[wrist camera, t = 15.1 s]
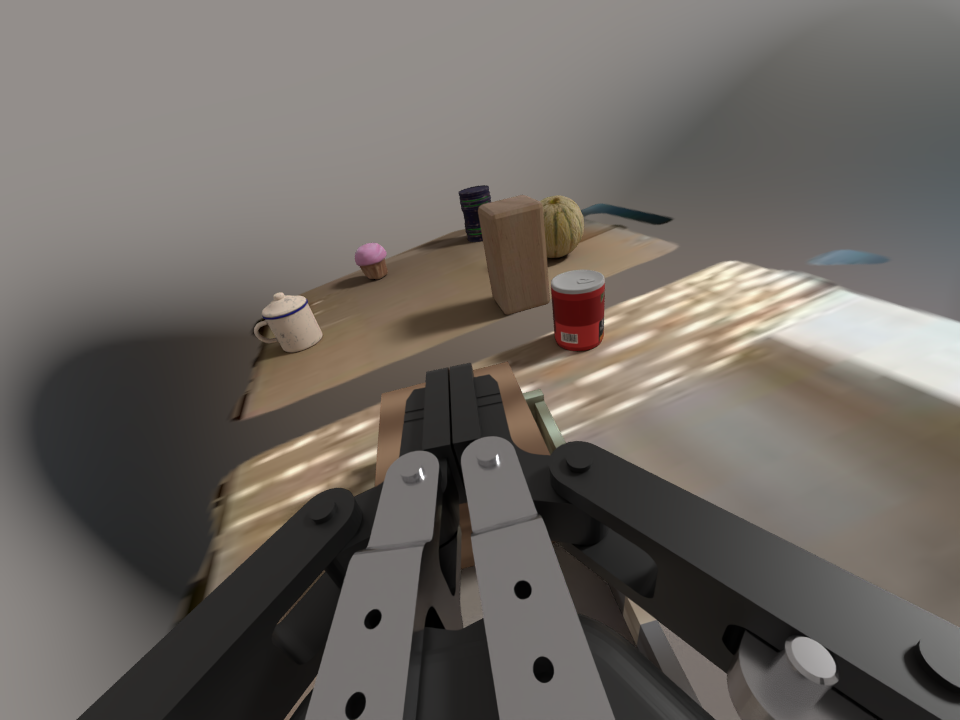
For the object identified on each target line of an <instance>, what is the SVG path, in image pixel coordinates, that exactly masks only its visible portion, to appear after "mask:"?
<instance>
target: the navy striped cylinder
mask: <svg viewBox="0 0 960 720" xmlns="http://www.w3.org/2000/svg"><path fill="white" fill-rule="evenodd" d="M459 196H460V204H461V209H462V211H463V214H464V219H465V230H466V233H467V236H468V241H470V242H481V241H483V238H482V232H481V226H480V220H479V214H478V209H479V207H480V206H481V205H483V204H487V203H491V200H490V199H491V197H490V192H489V186H485V185H484V186H475V187H470V188H467V189H464V190H461V191H459Z"/></svg>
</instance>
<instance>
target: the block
mask: <svg viewBox="0 0 960 720" xmlns="http://www.w3.org/2000/svg"><path fill="white" fill-rule="evenodd" d="M478 214H479V220H480V226H481V232H482V238H483V243H484V249H485V255H486V261H487V266H488V272H489V278H490V284H491V290H492V295H493V298H494V299H495V301H496V302H497V303H498V305H499V306H500V308H501V309H502V310H503V312H504V313H505V314H506V315H510V314H513V313H517V312H521V311H524V310H528V309H531V308H534V307H538V306H542V305H546V304H548V303H549V301H550V295H549V282H548V268H547V255H546V242H545V229H544V216H543V205H542V203H541V202H539V201H537V200H534V199H532V198H530V197H527V196H524V195H520V196H516V197H511V198H507V199H503V200H499V201H495V202H491V203H487V204H483V205H481V206H480V207H479V209H478Z"/></svg>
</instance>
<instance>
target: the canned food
mask: <svg viewBox="0 0 960 720" xmlns="http://www.w3.org/2000/svg"><path fill="white" fill-rule="evenodd" d="M551 294H552V306H553V320H554V333H555V339H556V342H557V343H558V345H559V346H560V347H562V348H564V349H567V350H571V351H585V350H589V349H592V348H594V347H596V346H598V345H599V344H600V343H601V341H602V339H603V336H604V297H605V280H604V276H603V275H602V274H601V273H599V272H596V271H591V270H574V271H568V272H565V273H562V274H559V275H557V276H556V277H554V278H553V279H552V281H551Z"/></svg>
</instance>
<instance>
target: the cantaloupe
mask: <svg viewBox="0 0 960 720" xmlns="http://www.w3.org/2000/svg"><path fill="white" fill-rule="evenodd" d="M540 202H541V203H542V205H543V216H544V229H545V242H546V255H547V258H559V257H562V256H564V255H566V254H568V253H570V252H572V251H573V250H574V249H575V248H576V247H577V245H578V243H579V242H580V240H581V238H582V235H583V231H584V220H583V216H582V213H581V211H580V209H579V207H578V205H577V204H576V203H575V202H574V201H572V200H571V199H569V198H566V197H563V196H552V197H547V198H545V199H543V200H541V201H540Z"/></svg>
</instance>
